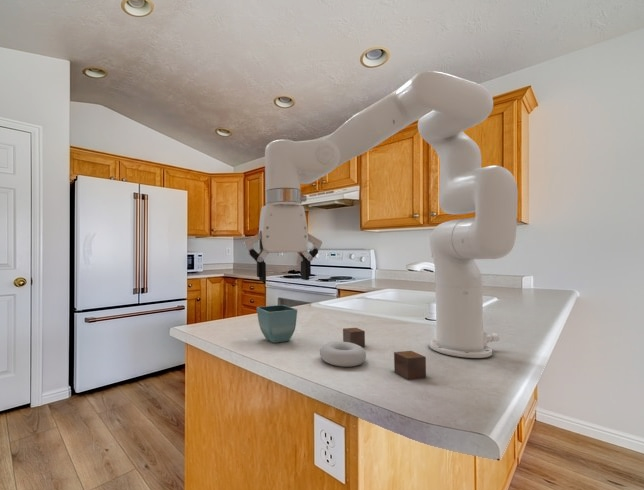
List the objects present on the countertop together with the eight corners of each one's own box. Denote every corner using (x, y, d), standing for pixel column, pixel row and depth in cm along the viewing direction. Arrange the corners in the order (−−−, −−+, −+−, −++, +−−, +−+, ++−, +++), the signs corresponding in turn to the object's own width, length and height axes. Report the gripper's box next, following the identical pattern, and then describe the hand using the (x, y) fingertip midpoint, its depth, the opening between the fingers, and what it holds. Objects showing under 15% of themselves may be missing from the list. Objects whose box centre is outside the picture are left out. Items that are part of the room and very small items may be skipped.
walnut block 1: (356, 342, 85) (356, 327, 85) (365, 346, 81) (364, 331, 81) (343, 343, 84) (342, 328, 84) (350, 347, 80) (350, 332, 80)
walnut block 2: (411, 370, 65) (411, 350, 65) (426, 377, 61) (425, 356, 61) (394, 372, 64) (393, 352, 64) (408, 379, 60) (407, 358, 60)
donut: (319, 368, 67) (370, 370, 65) (319, 351, 67) (369, 353, 65) (319, 353, 77) (362, 354, 75) (318, 339, 77) (362, 340, 75)
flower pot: (269, 346, 83) (268, 311, 83) (256, 338, 91) (255, 306, 91) (298, 342, 86) (298, 309, 86) (283, 334, 94) (283, 304, 94)
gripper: (313, 203, 74) (314, 277, 74) (240, 202, 70) (241, 280, 70) (328, 198, 66) (329, 280, 66) (246, 196, 63) (247, 282, 63)
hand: (284, 280), depth 68 cm, fingers open, 9 cm apart
